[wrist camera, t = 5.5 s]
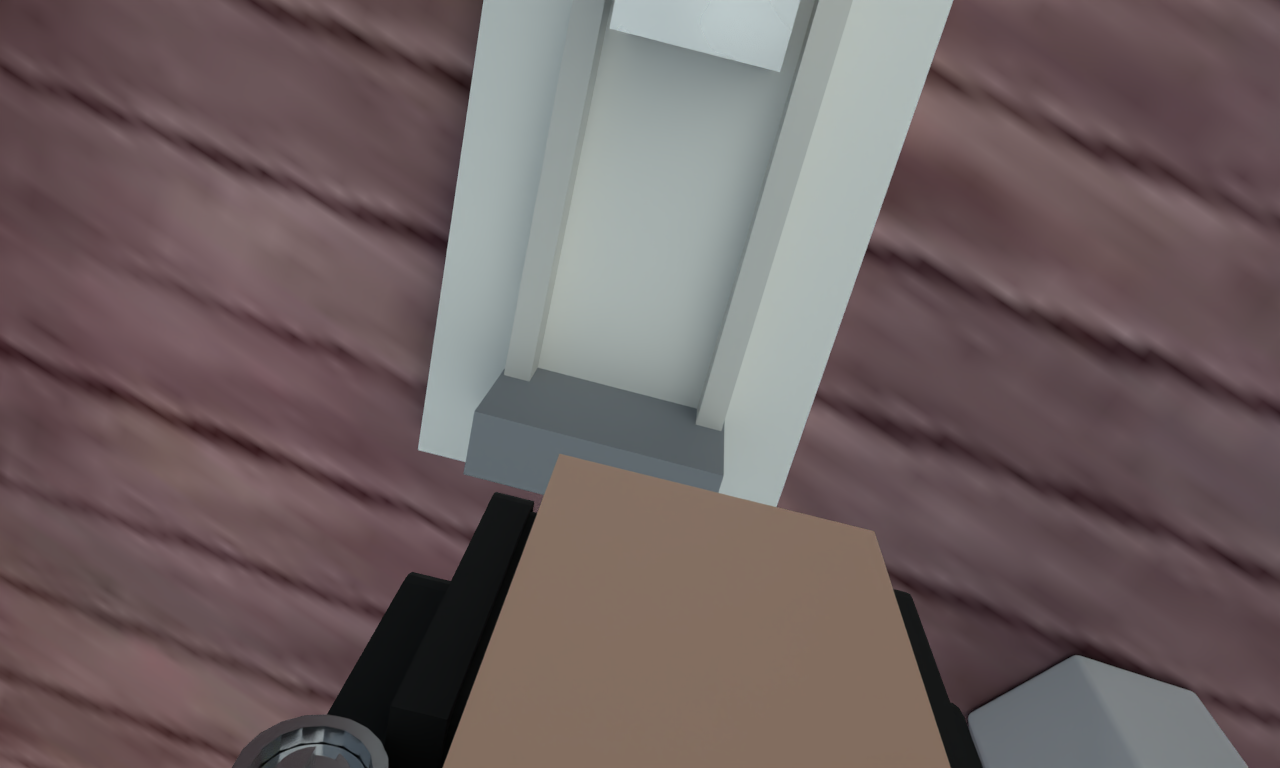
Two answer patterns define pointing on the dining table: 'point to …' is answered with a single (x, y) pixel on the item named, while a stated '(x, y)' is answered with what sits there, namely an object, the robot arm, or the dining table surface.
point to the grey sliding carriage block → (714, 26)
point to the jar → (1098, 723)
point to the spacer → (694, 639)
